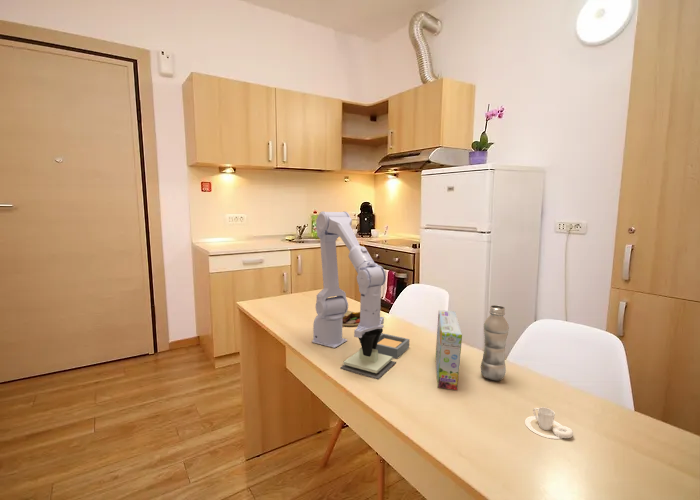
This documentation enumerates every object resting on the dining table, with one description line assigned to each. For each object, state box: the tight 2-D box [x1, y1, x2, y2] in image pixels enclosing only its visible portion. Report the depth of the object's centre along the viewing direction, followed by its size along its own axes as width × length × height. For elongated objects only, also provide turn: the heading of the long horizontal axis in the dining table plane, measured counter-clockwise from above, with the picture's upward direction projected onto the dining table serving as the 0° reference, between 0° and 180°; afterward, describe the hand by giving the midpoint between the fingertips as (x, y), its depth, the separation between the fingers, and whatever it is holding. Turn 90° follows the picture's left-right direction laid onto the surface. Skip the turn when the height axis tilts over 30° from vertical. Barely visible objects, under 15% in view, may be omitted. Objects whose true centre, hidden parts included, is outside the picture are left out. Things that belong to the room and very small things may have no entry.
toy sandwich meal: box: [342, 309, 360, 328], centre depth 143 cm, size 12×14×5 cm
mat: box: [340, 360, 397, 380], centre depth 104 cm, size 12×12×1 cm
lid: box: [342, 346, 394, 373], centre depth 104 cm, size 11×11×4 cm
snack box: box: [435, 309, 463, 391], centre depth 101 cm, size 21×6×15 cm, turn 168°
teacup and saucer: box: [524, 406, 574, 440], centre depth 76 cm, size 9×8×4 cm
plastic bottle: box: [480, 304, 510, 382], centre depth 97 cm, size 6×7×20 cm
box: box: [376, 332, 410, 360], centre depth 116 cm, size 10×10×3 cm
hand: (369, 354), depth 104 cm, fingers closed on lid, 2 cm apart
